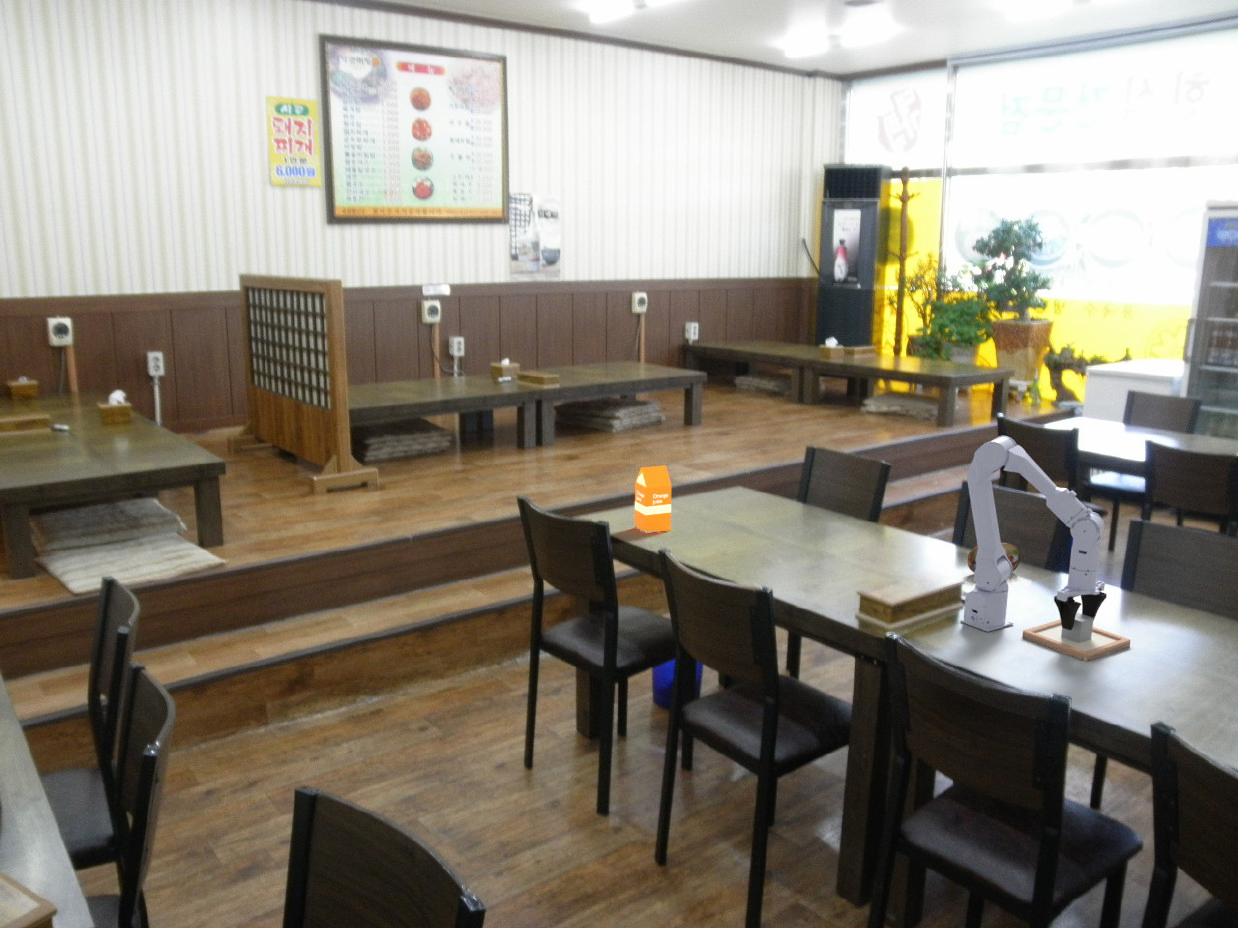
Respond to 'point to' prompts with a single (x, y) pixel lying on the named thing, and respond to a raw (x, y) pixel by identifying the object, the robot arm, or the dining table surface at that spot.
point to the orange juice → (653, 499)
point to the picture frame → (1085, 650)
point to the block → (1079, 629)
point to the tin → (1011, 554)
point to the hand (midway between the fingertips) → (1077, 625)
